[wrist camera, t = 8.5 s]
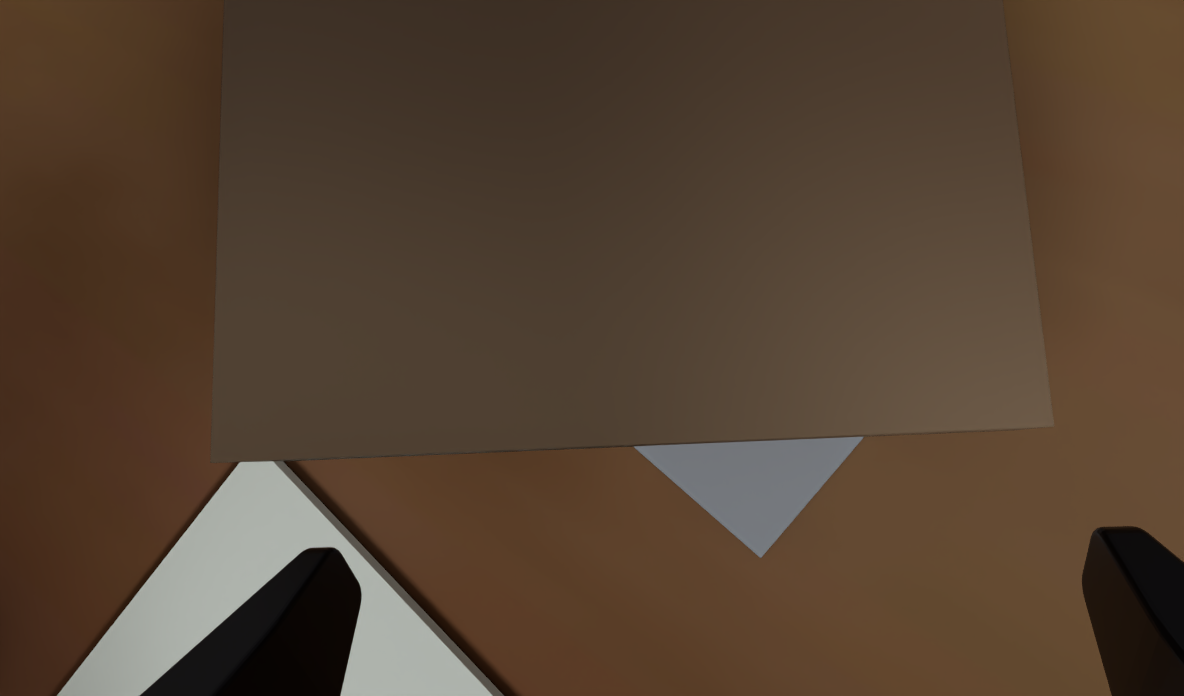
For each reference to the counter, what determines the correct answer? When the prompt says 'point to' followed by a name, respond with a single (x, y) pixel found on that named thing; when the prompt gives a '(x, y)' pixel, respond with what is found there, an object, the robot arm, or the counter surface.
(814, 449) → the board
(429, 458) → the counter surface
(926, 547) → the counter surface
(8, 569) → the counter surface
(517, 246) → the tan tall block
